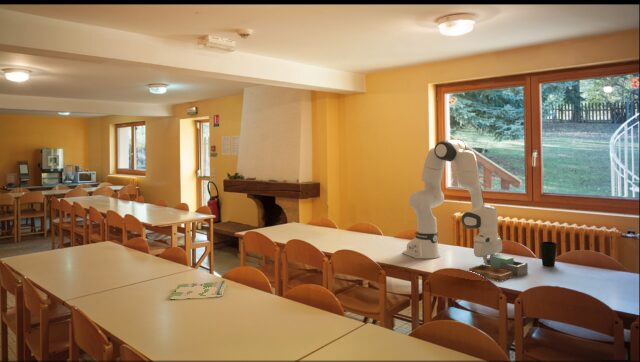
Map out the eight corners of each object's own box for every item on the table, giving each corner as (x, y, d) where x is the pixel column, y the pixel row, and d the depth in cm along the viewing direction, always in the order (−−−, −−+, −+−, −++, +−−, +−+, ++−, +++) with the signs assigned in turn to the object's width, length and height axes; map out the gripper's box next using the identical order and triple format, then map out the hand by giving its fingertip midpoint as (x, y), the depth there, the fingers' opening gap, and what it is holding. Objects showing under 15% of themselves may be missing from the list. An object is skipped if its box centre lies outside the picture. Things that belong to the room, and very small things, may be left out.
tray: (469, 273, 213) (469, 268, 212) (482, 269, 219) (482, 264, 219) (500, 281, 199) (500, 276, 199) (513, 276, 205) (513, 271, 205)
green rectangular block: (483, 267, 221) (483, 254, 221) (490, 265, 225) (490, 252, 224) (506, 273, 211) (506, 259, 210) (513, 271, 214) (513, 257, 213)
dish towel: (222, 298, 189) (221, 290, 189) (169, 301, 187) (168, 294, 187) (227, 286, 206) (226, 279, 206) (178, 289, 204) (178, 281, 204)
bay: (500, 272, 212) (500, 263, 211) (510, 269, 217) (510, 259, 217) (517, 276, 204) (517, 266, 204) (527, 273, 210) (527, 263, 209)
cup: (558, 267, 217) (559, 244, 216) (542, 267, 218) (542, 244, 218) (553, 263, 224) (554, 241, 224) (538, 263, 226) (538, 241, 225)
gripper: (494, 232, 229) (494, 258, 230) (471, 238, 218) (471, 264, 219) (505, 234, 224) (505, 260, 225) (482, 240, 212) (482, 267, 214)
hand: (488, 262), depth 222 cm, fingers closed on green rectangular block, 3 cm apart
